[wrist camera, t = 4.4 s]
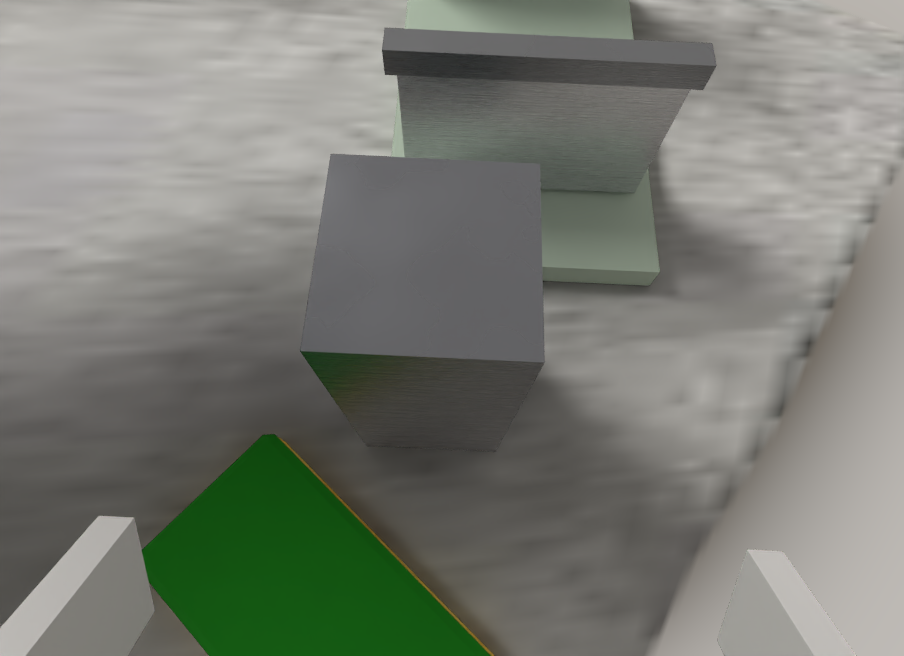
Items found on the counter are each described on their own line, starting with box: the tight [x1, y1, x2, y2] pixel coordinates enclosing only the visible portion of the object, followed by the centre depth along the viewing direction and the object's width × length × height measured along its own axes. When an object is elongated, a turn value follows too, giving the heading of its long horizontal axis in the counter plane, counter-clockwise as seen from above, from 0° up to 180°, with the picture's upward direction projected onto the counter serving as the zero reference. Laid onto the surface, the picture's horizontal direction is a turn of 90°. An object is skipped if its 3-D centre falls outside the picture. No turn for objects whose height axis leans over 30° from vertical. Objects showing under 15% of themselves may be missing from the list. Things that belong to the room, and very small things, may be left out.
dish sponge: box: [142, 434, 494, 656], centre depth 22 cm, size 7×14×2 cm, turn 47°
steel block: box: [300, 154, 544, 452], centre depth 21 cm, size 6×6×13 cm
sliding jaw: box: [382, 28, 716, 193], centre depth 26 cm, size 13×2×8 cm, turn 88°
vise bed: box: [391, 0, 660, 286], centre depth 28 cm, size 14×22×11 cm, turn 178°
